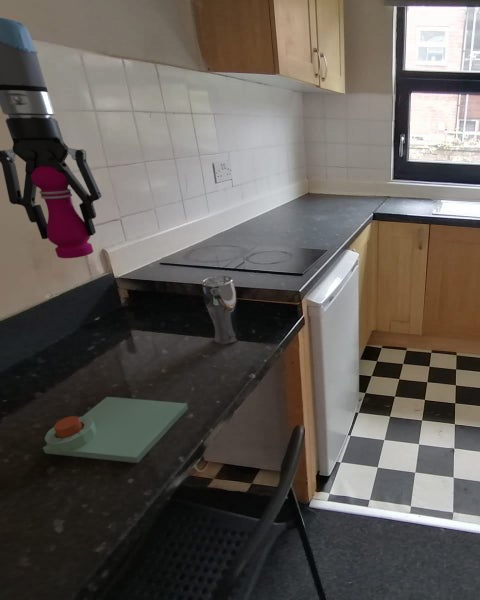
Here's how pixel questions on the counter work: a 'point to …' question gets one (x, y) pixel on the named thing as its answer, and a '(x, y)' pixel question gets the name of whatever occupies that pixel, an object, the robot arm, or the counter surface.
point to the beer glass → (222, 308)
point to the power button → (68, 426)
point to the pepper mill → (61, 214)
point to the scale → (118, 430)
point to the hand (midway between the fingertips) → (69, 235)
